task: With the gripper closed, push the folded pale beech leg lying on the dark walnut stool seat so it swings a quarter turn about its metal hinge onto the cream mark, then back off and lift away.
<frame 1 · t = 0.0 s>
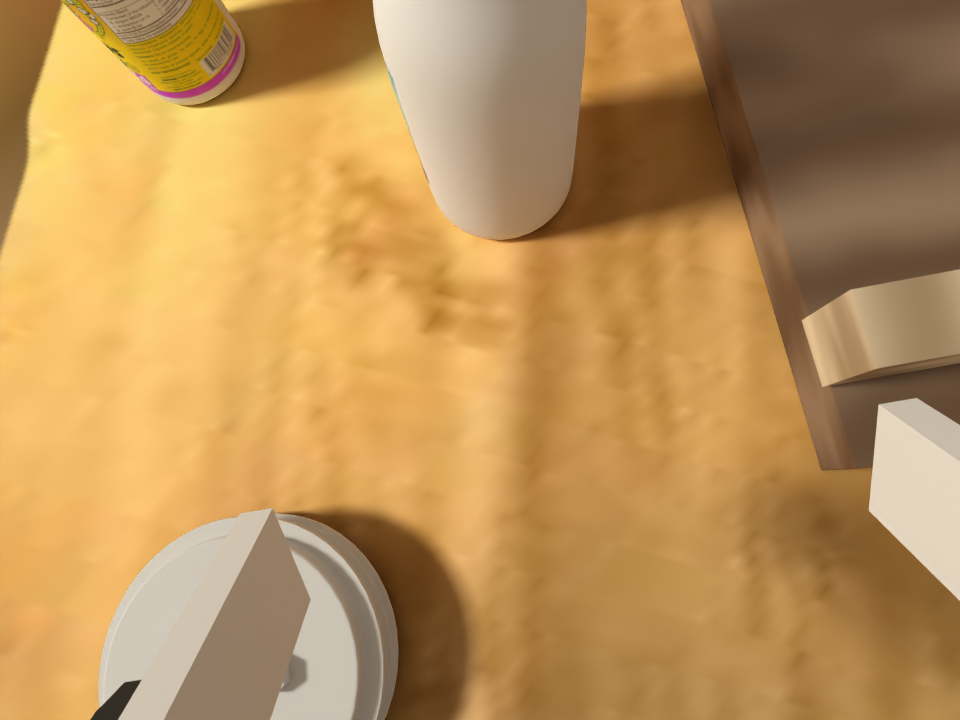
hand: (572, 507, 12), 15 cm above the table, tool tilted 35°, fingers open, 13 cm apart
lid: (277, 646, 28), on the table
milk bottle: (501, 181, 31), on the table
supplement bottle: (200, 66, 35), on the table
stool seat: (919, 165, 29), on the table
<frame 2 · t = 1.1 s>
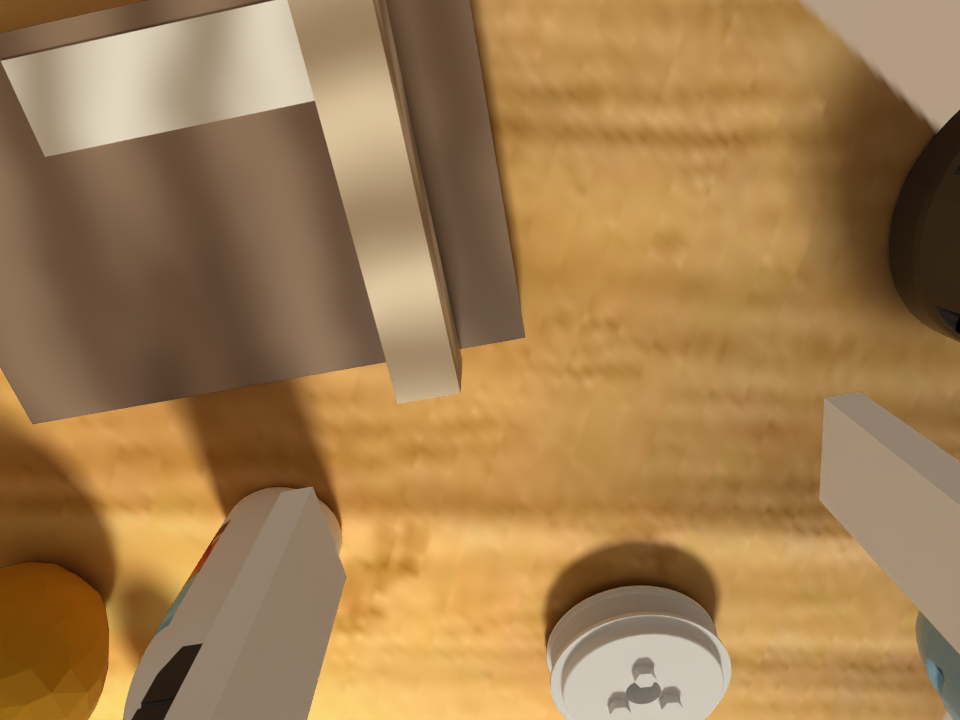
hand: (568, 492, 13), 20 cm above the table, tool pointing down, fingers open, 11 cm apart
lid: (627, 637, 43), on the table
apple: (62, 598, 41), on the table
milk bottle: (288, 527, 39), on the table
stool seat: (235, 207, 30), on the table
folding leg: (390, 209, 25), point 5 cm above the table, hinge at 0.0°
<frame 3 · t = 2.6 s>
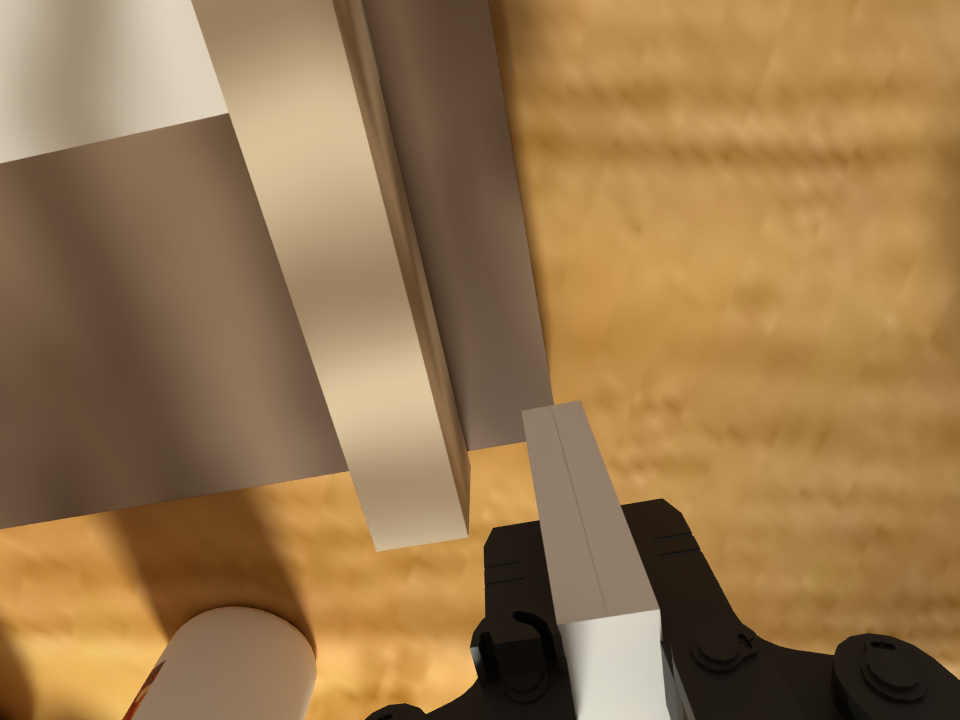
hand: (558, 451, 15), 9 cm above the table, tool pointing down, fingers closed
milk bottle: (248, 652, 30), on the table
stool seat: (156, 256, 22), on the table
folding leg: (361, 271, 17), point 5 cm above the table, hinge at 0.0°
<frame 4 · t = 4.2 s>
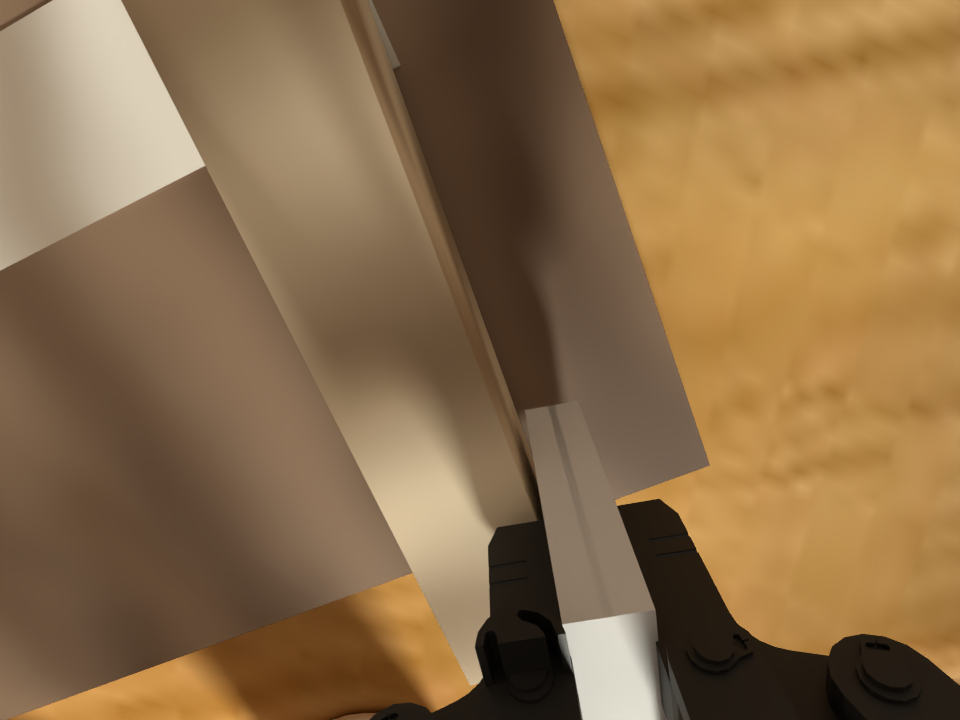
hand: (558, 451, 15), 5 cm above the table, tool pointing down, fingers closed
stool seat: (177, 350, 18), on the table
folding leg: (406, 333, 12), point 5 cm above the table, hinge at 5.1°, touching gripper
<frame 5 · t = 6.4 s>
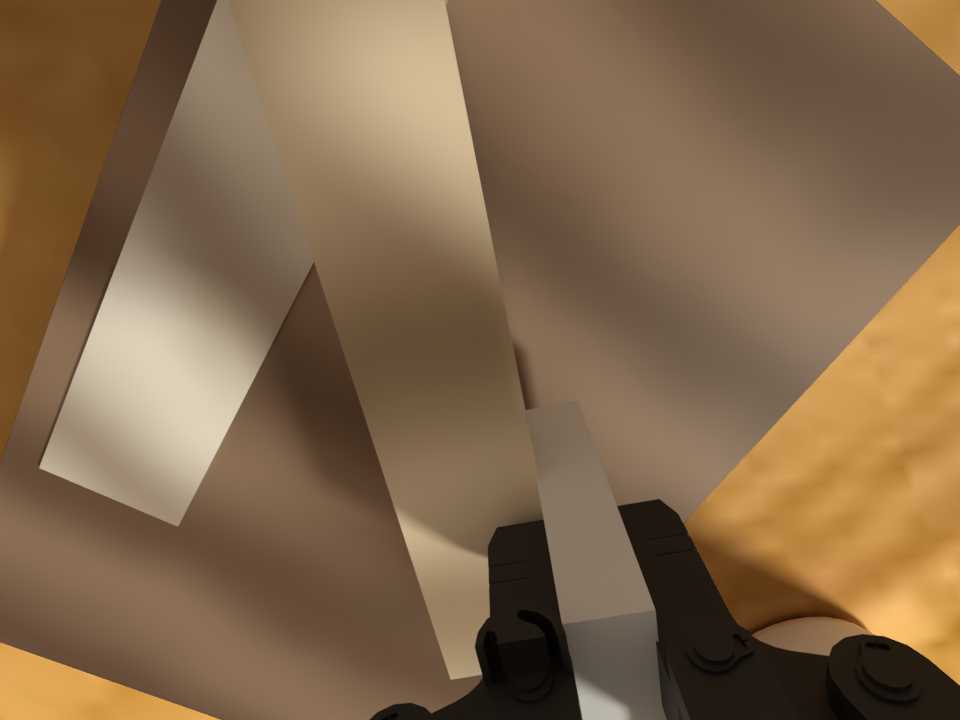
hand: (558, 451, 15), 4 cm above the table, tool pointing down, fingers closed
milk bottle: (791, 671, 25), on the table
stool seat: (412, 375, 18), on the table
folding leg: (432, 309, 12), point 5 cm above the table, hinge at 46.6°, touching gripper
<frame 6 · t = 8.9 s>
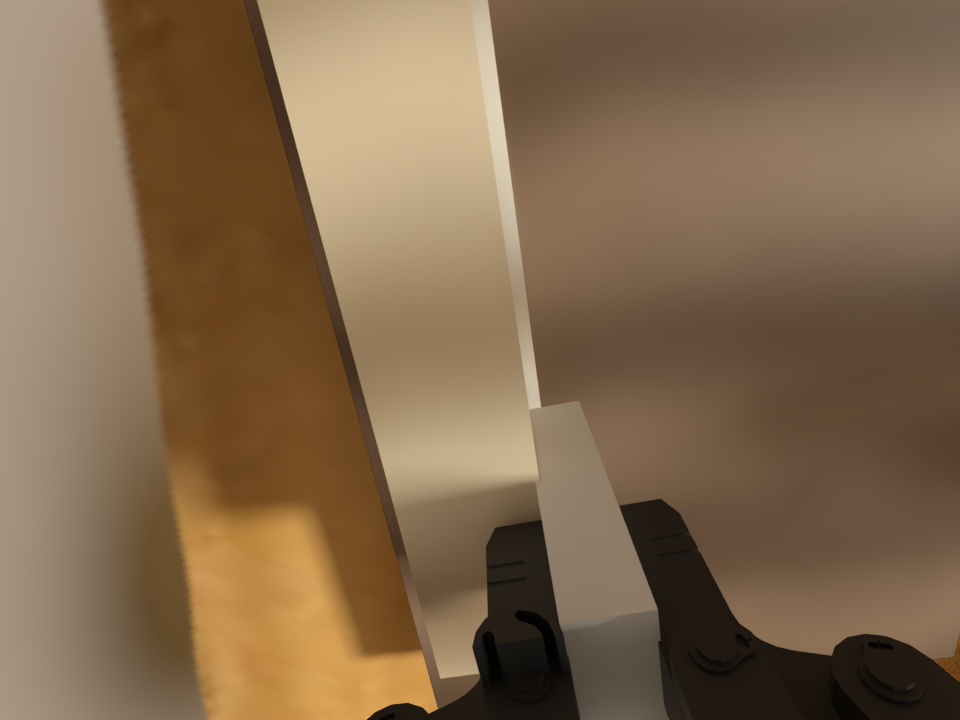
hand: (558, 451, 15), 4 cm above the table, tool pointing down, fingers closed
stool seat: (651, 285, 17), on the table
folding leg: (439, 304, 12), point 5 cm above the table, hinge at 89.8°, touching gripper
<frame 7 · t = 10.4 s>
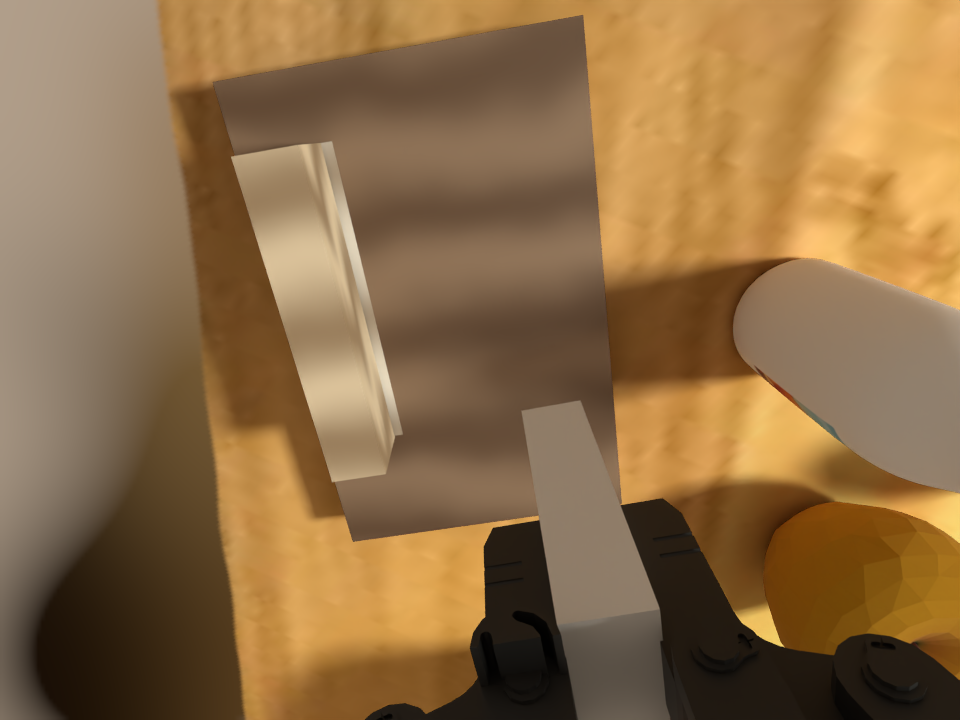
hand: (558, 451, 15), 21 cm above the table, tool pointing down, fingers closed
apple: (817, 536, 42), on the table
milk bottle: (788, 315, 36), on the table
stool seat: (449, 309, 35), on the table
folding leg: (326, 320, 30), point 5 cm above the table, hinge at 89.9°
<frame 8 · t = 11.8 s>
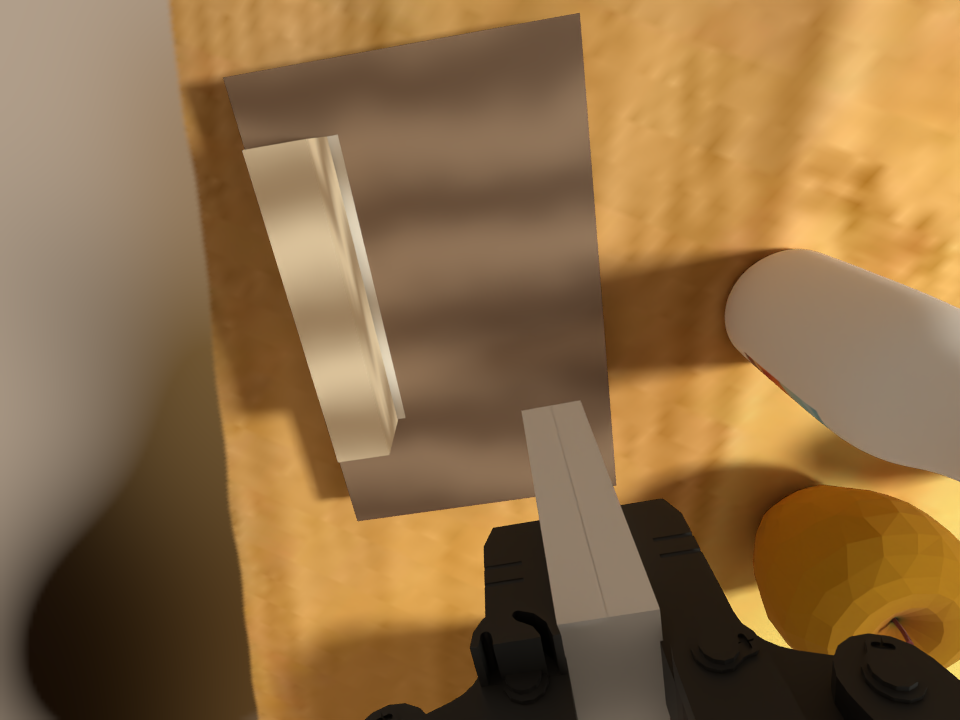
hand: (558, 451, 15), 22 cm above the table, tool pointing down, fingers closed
apple: (807, 518, 44), on the table
milk bottle: (779, 304, 37), on the table
stool seat: (450, 297, 36), on the table
folding leg: (332, 307, 31), point 5 cm above the table, hinge at 89.9°
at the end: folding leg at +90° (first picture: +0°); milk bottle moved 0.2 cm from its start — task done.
